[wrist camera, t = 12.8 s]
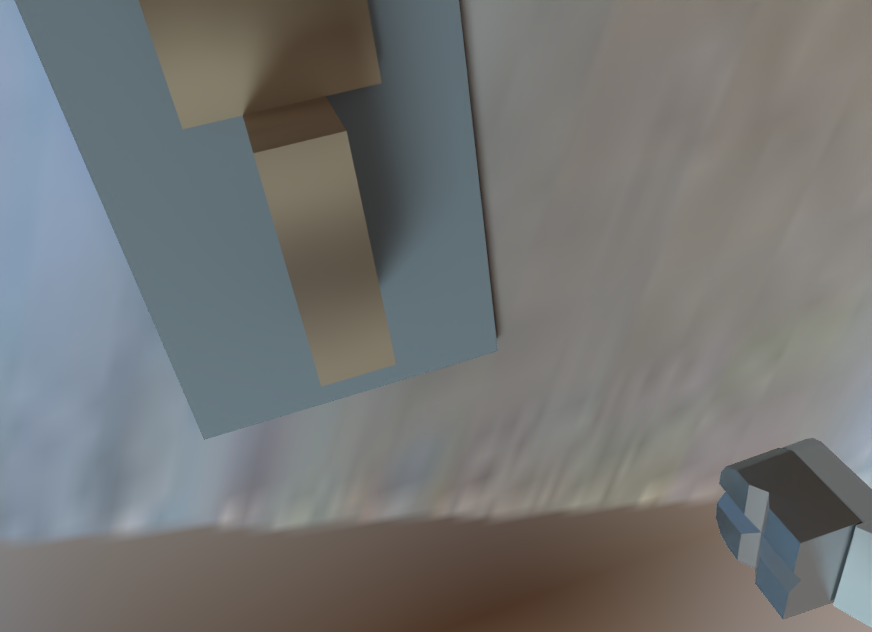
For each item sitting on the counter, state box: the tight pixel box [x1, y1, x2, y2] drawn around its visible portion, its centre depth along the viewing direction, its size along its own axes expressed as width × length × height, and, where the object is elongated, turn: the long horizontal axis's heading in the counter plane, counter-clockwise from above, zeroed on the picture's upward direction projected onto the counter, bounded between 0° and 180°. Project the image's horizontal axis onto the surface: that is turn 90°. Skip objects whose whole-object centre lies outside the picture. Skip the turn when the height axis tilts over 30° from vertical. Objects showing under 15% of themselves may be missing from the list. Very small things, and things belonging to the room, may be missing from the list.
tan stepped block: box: [139, 0, 396, 387], centre depth 22 cm, size 14×6×4 cm, turn 8°
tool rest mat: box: [15, 0, 498, 440], centre depth 24 cm, size 12×20×1 cm, turn 8°
